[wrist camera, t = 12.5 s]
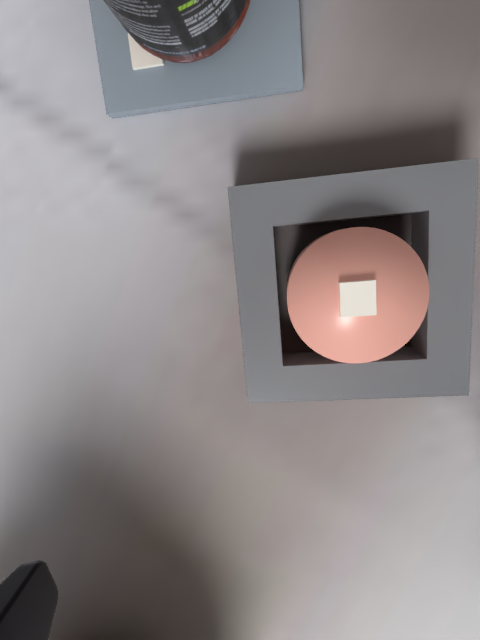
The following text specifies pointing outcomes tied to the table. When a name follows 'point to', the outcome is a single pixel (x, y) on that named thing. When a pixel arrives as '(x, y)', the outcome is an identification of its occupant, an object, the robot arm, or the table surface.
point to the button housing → (427, 240)
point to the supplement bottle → (180, 25)
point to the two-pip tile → (201, 63)
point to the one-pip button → (357, 294)
